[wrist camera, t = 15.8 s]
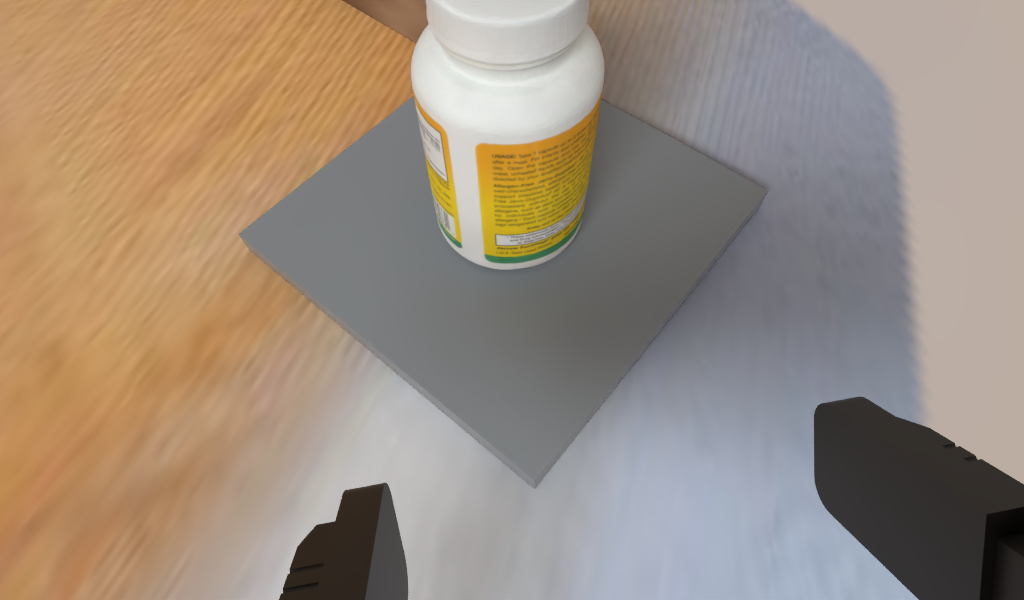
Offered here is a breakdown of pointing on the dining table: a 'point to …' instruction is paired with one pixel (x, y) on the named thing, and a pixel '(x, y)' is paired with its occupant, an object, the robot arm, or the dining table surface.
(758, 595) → the dining table surface
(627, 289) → the slate board
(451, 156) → the supplement bottle
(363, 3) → the walnut holder
